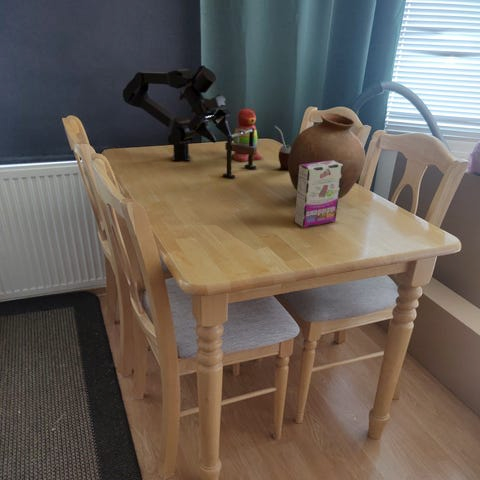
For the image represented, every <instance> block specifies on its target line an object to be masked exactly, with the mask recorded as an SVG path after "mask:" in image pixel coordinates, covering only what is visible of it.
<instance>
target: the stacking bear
mask: <svg viewBox="0 0 480 480" xmlns="http://www.w3.org/2000/svg"><path fill="white" fill-rule="evenodd" d="M237 122H238V125H237V126H236V127H235V130H234V134H235V133H237V129H242V130H248V129H250V128H254V144H253V147H257V146H258V131H257V127H256V125H255V123H256V122H257V116H256V113H255V112H254V108H249V109H248V108H244V109H239V111H238V114H237ZM232 143H236V144H237V137H235V138H233V140H232ZM239 144H242V145H247V146H249V133H247V134H244V135H241V136H239ZM248 157H249V154H244V153H239V152H234V151H233V159H234V160H235V161H238V162H247V161H248ZM262 158H263V157H262V154H261V153H259V152H258V151H257V152H256V155H253V161H254V160H255V161H259V160H261V159H262Z"/></svg>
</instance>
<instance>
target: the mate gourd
mask: <svg viewBox="0 0 480 480" xmlns="http://www.w3.org/2000/svg"><path fill="white" fill-rule="evenodd" d="M274 127H275V128H276V130H278V133H279V134H280V137H281V140H282V144H283V145H282V146H281V147H280V148H279V150H278V151H279V152H278V161H279V165H280V168H279V171H288V158H289V154H290V150H291V147H292V145H291V144H290V145H289V144H286V142H285V139H284V134H283V132H282V130H281V129H280V128H279V127H277V125H274Z"/></svg>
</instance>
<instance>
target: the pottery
mask: <svg viewBox="0 0 480 480" xmlns="http://www.w3.org/2000/svg"><path fill="white" fill-rule="evenodd" d="M320 117H321V120H322V122H319V123H316V124H313V125H311V126H309V127H307V128H305V129H303V130H302V131H301V132H300V133H299V134H298V135H297V136H296V137H295V139H294V140H293V142H292V145H291V146H292V147H291V150H290V154H289V158H288V170H287V171H288V174H289V178H290V181H291V185H292V186H293V189H295V190H296V191H297V188H298V177H299V165H302V164H309V163H316V162H323V161H331V160H334V161H335V162H338V163H340V164H343V167H342V174H341V182H340V189H339V196H338V200H339V199H342V198H344V197H345V196H346V195H347V194H348V193H349V192H350V191H351V189H352V188H353V187H354V185H355V184H356V182H357V181H358V180H359V178H360V176H361V174H362V172H363V170H364V166H365V163H366V151H365V148H364V145H363V144H362V141H361V140H360V139H359V137H357V136H356V135H355V134H354V133H353V132H352V130H351V128H353V126H354V125H355V121H354V120H352V119H351V118H349V117H347V116H345V115H341V114H340V113H334V112H324V113H322V114H321V115H320Z"/></svg>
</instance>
